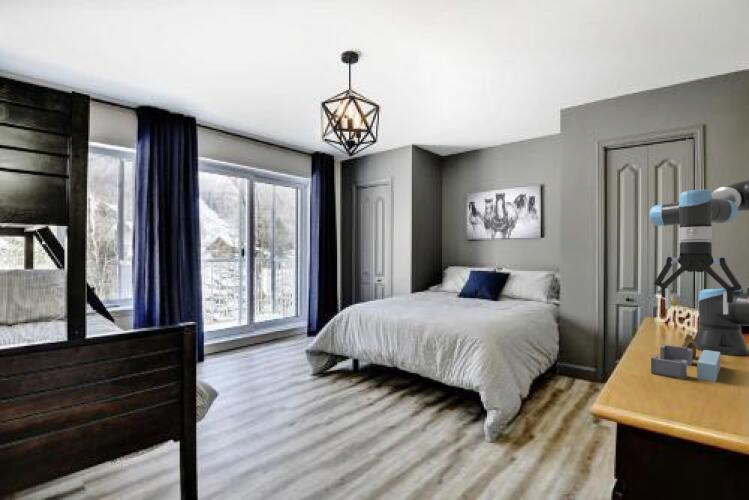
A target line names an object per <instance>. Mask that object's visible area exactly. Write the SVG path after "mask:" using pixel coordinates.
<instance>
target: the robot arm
mask: <svg viewBox="0 0 749 500" xmlns="http://www.w3.org/2000/svg"><path fill="white" fill-rule="evenodd" d="M743 211H744V212H745V211H746V212H747V211H748V212H749V179H746V180H741V181H739V182H735V183H731V184H729V185H725V186H721V187H718V188H716V189H714V190H713V192H711V191H710V190H709V189H693V190H692V189H691V190H686V191H683V192H681V193H680V194H679V201H675V202H671V203H661V204H656V205H654V206H652V207H651V209H650V210H649V220H650V222H651V224H653V225H654V226H656V227H661V226H662V227H663V226H664V227H667V226H668V227H669V226H678V225H679V231H678V232H679V233H678V234H679V238H678V240H679V241H681V242H680V243H679V254H678V257H672V256H667V257H666V260H665V265H664V266H663V268H662V270H661V271H660V273H659V275H658V276H657V277H656V278H655V282H654V283H653V284H654V285H655V286H657V287H660V291H661V293H660V295H661V298H663V299H665V300H664V301H665V306H664V308H665V310H670V309H671V287H668V286H670V285H671V284H672V283H673V282H674V281H675V280H676V279H677V278H679V277H680V276H681V275H682V274H683V273H684V272H685V271H686V272H688V273H692V272H697V273H704V272H706V273H707V275H709V276H710V277H712V278H713V279H714V281H716V283H718V284H719V285H720V286H721V287H722V288H706V289H705V288H704V289H702V290H700V291H699V295H698V301H697V302H698V329H697V331H696V333H695V335H694V337H693V339H694V342H695V347H696V350H700V351H703V350H709V351H716V352H720V355H727V356H728V355H729V356H731V355H733V356H745V355H746V356H747V355H748V354H749V349H748V345H747V342H746V340H745V338H744V336H743V333H742V326H748V327H749V285H748V286H747V289H746V292H743V291H742V289H743V288H742V284H741V283H740V282H739V280H738V279H737V278H736V276H735V275H734V273H733V272H732V270H731V269H730V267H729V265H728V262H727V258H726V257H724V256H723V257H717V258H716V257H715V258H714V257H713V253H712V252H713V251H712V250H713V248H712V247H713V246H712V242H711V241H712V239H713V238H712V237H713V233H712V230H713V227H712V224H724V223H728V222H731V221H732V220H734V219H736V216H737V215H738V212H743ZM676 263H678V264H679V265H680V267H679V268H678V269H677V270H676V271H675V272H674V273H673V274H671V275H670V276H669V277H668V278H667V279H666V280H665V278H666V276H667V275H668V273H669V271H670V269H671V268H672V266H673V265H675V264H676ZM714 263H716V265H717V266H719V267H720V268H721V269H722V271H723V272H724V274H725V275H726V277H727V278H728V280H729V281H730V283H731V285H732V286H731V285H730V284H729V283H728V282H727V281H726V280H724V278H722V277H721V276H720V275H719V274H718V273H717V272H716V271H715V269H713V268H712V267H711V266H712V265H713V264H714ZM664 280H665V281H664Z"/></svg>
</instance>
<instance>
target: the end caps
mask: <svg viewBox="0 0 749 500" xmlns="http://www.w3.org/2000/svg"><path fill="white" fill-rule="evenodd" d="M659 348H660V349H659V350H660V353H659V355H660V356H658V355H655V354H653V355H652V356H651V358H650V369H651V370H650V374H652V375H656V376H662V377H668V378H673V379H680V380H684V381H686V380H687V378H688V366H690V367H692V365H693V361H694V359H693V358H694V357H693V349H692V348H685V347H682V346H677V345H676V346H675V345H671V344H670V345H669V344H661V346H659Z"/></svg>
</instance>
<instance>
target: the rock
mask: <svg viewBox="0 0 749 500" xmlns="http://www.w3.org/2000/svg"><path fill="white" fill-rule="evenodd" d="M695 335H696V333H695V331H692V333H691V334H686V336H685V337H684V341H683V342H682V345H681V347H685V348H692V349H693V358H696V356H697V349H696V347H695V342H694V337H695Z"/></svg>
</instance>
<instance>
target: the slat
mask: <svg viewBox="0 0 749 500" xmlns="http://www.w3.org/2000/svg"><path fill="white" fill-rule="evenodd" d="M696 364H697V365H696V377H697V379H698V380H703V381H708V382H713V383H717V379H718V376H719V373H720V369H721V354H720V352H716V351H709V350H702V352H701V354H700V356H699V357H698V360H697V362H696Z"/></svg>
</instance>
